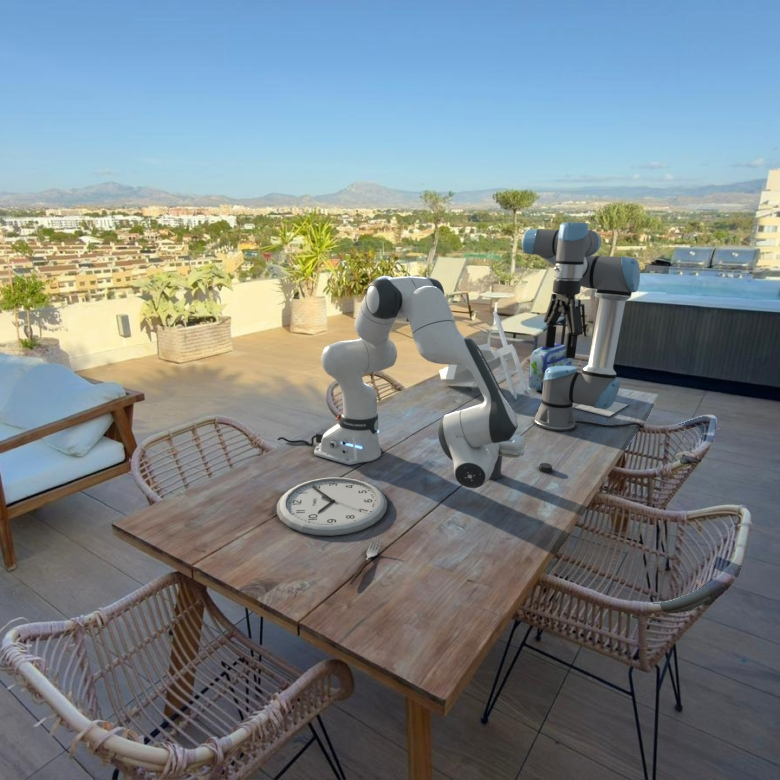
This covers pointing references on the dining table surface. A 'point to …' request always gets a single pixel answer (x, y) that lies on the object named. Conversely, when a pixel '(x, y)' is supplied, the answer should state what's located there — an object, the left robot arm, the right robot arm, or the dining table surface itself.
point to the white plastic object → (494, 360)
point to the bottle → (497, 469)
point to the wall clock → (331, 506)
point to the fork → (370, 554)
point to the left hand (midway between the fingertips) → (490, 431)
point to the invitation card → (606, 412)
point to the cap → (545, 467)
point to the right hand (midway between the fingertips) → (559, 352)
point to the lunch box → (545, 363)
